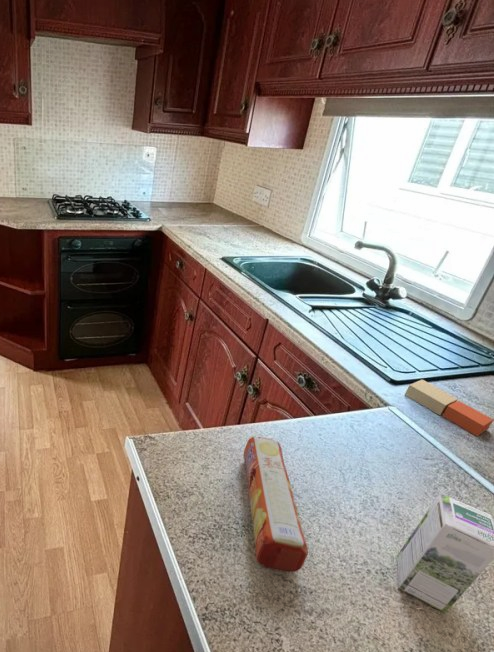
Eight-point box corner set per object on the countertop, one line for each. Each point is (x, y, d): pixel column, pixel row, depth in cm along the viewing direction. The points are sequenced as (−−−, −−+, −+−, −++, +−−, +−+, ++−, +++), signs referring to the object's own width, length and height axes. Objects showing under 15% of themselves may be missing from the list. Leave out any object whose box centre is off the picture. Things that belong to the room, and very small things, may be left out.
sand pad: (452, 408, 96) (458, 398, 94) (439, 415, 93) (445, 405, 92) (417, 388, 102) (422, 379, 101) (404, 394, 99) (409, 384, 98)
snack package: (239, 455, 76) (248, 428, 73) (275, 463, 75) (286, 436, 72) (251, 568, 57) (263, 538, 54) (299, 580, 56) (315, 550, 53)
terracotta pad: (487, 430, 90) (493, 419, 89) (476, 436, 88) (483, 426, 86) (452, 410, 95) (458, 400, 94) (441, 415, 93) (447, 405, 92)
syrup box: (440, 577, 58) (492, 511, 52) (446, 616, 54) (503, 549, 47) (395, 555, 61) (439, 489, 54) (397, 590, 56) (445, 523, 50)
